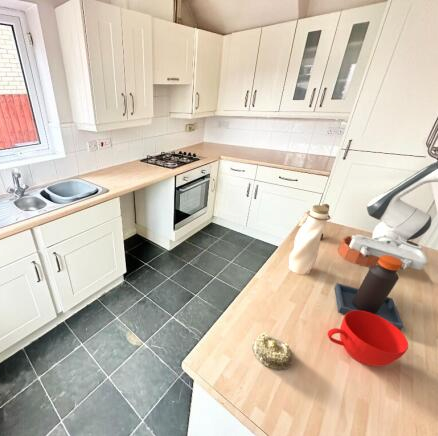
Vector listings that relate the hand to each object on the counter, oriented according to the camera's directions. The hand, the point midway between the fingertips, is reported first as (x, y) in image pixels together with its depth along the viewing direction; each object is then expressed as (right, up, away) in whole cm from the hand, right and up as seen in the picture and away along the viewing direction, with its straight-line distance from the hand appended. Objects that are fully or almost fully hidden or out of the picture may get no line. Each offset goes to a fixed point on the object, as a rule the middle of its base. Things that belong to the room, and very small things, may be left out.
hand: (383, 261), depth 83 cm
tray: (-8, -16, -1) cm, 18 cm away
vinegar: (-8, -15, -1) cm, 17 cm away
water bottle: (-19, -6, +17) cm, 27 cm away
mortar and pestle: (+2, +5, +37) cm, 38 cm away
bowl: (+11, -2, +23) cm, 26 cm away
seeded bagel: (-46, -24, -14) cm, 54 cm away
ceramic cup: (-23, -24, -15) cm, 36 cm away
